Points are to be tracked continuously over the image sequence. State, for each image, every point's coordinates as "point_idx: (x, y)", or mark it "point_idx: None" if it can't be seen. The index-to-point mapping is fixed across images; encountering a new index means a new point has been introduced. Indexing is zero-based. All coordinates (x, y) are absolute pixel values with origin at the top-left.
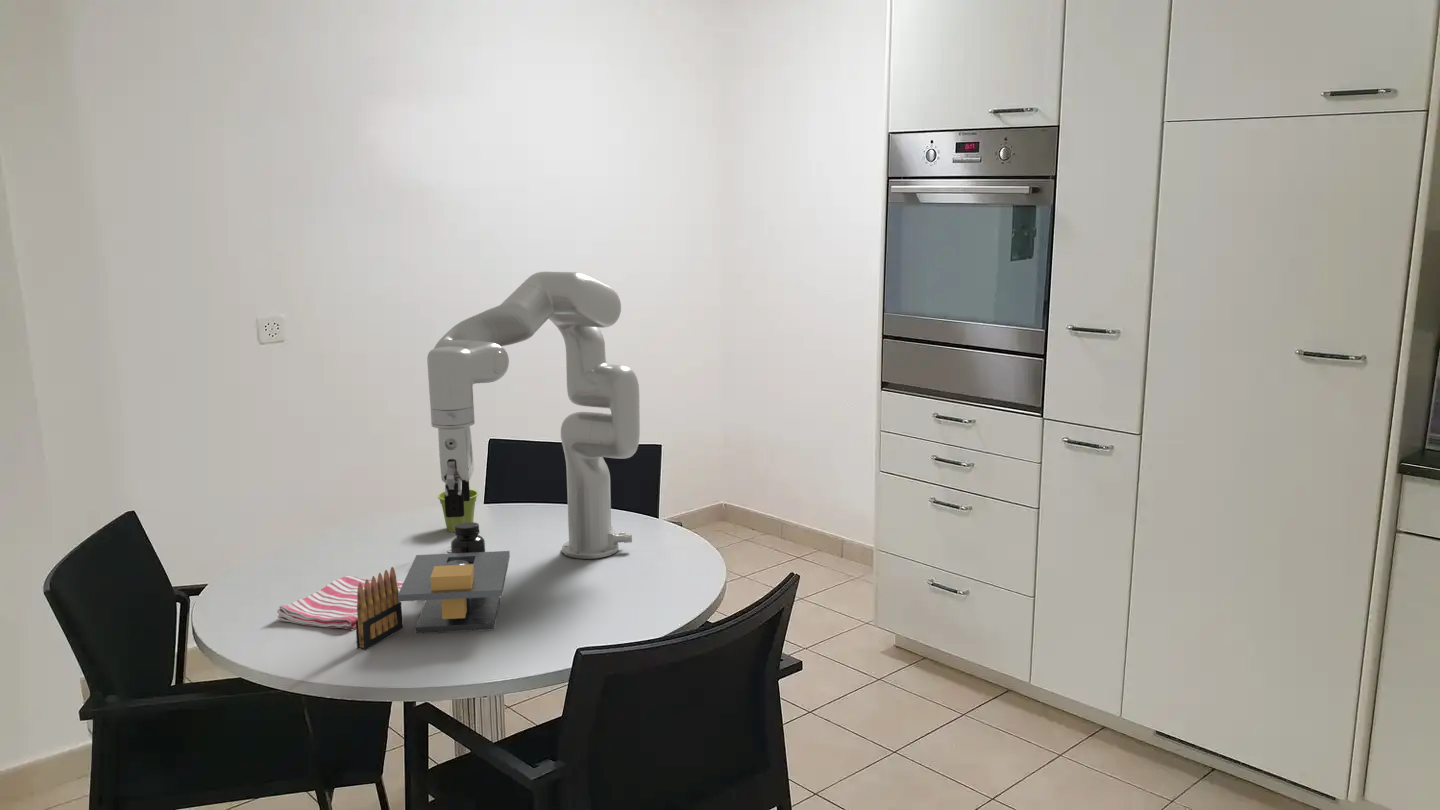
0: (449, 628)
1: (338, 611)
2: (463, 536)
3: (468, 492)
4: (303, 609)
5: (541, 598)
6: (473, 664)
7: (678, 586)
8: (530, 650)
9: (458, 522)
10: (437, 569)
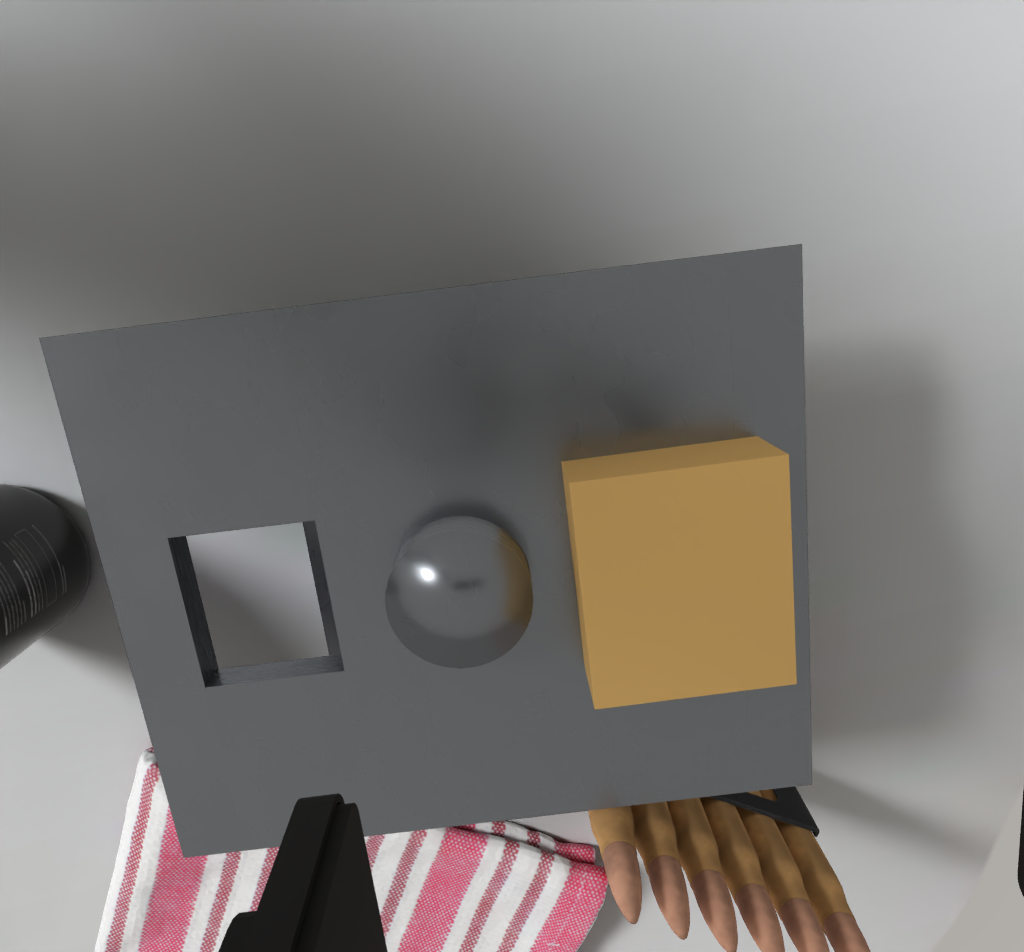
0: None
1: (443, 947)
2: None
3: (319, 888)
4: None
5: (219, 151)
6: (976, 330)
7: None
8: (868, 99)
9: None
10: (659, 678)
